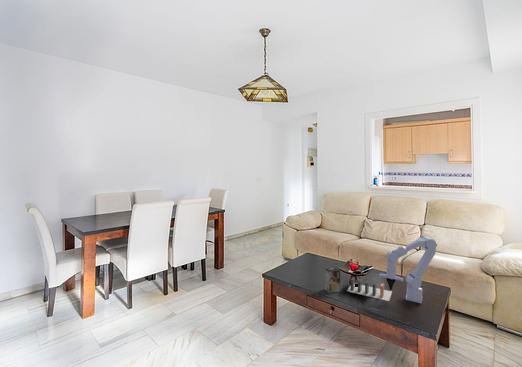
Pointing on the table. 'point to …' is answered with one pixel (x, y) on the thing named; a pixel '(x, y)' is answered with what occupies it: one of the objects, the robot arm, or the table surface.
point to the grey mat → (386, 293)
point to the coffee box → (332, 280)
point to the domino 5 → (382, 290)
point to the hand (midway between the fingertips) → (390, 289)
